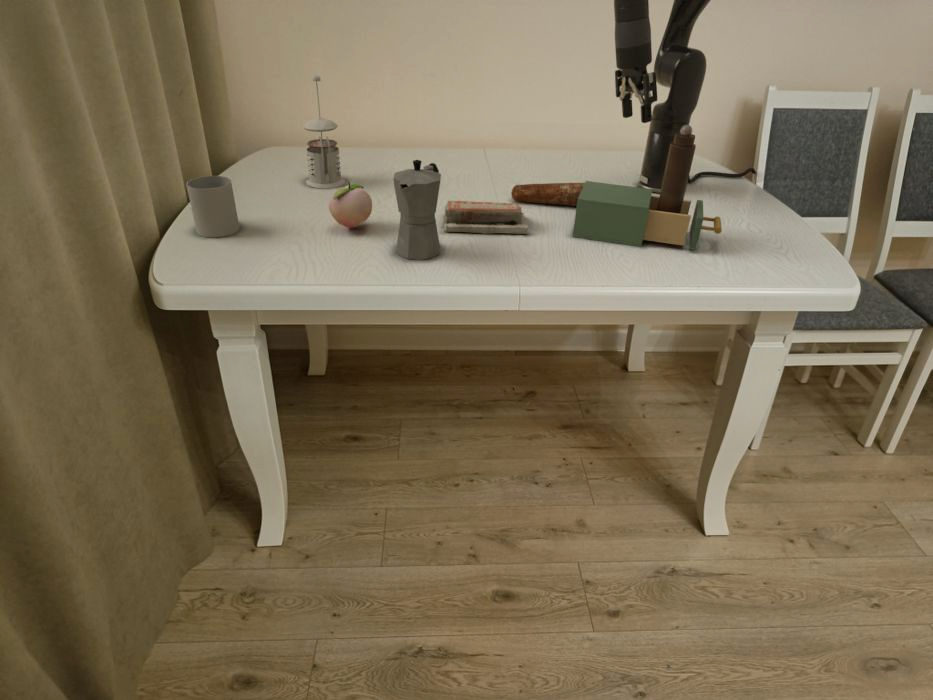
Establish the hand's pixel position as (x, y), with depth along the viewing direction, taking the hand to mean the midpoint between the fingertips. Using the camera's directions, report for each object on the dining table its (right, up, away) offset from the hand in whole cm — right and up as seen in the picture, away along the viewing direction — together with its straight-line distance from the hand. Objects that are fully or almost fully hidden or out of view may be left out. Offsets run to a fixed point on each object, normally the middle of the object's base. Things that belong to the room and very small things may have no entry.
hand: (636, 119), depth 142 cm
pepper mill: (+3, -27, -10) cm, 29 cm away
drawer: (+5, -29, -10) cm, 31 cm away
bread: (-19, -18, +7) cm, 27 cm away
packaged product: (-35, -26, -6) cm, 44 cm away
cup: (-91, -28, -13) cm, 96 cm away
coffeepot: (-48, -33, -17) cm, 61 cm away
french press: (-74, -11, +14) cm, 77 cm away
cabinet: (-8, -27, -6) cm, 29 cm away
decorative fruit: (-63, -27, -10) cm, 69 cm away
